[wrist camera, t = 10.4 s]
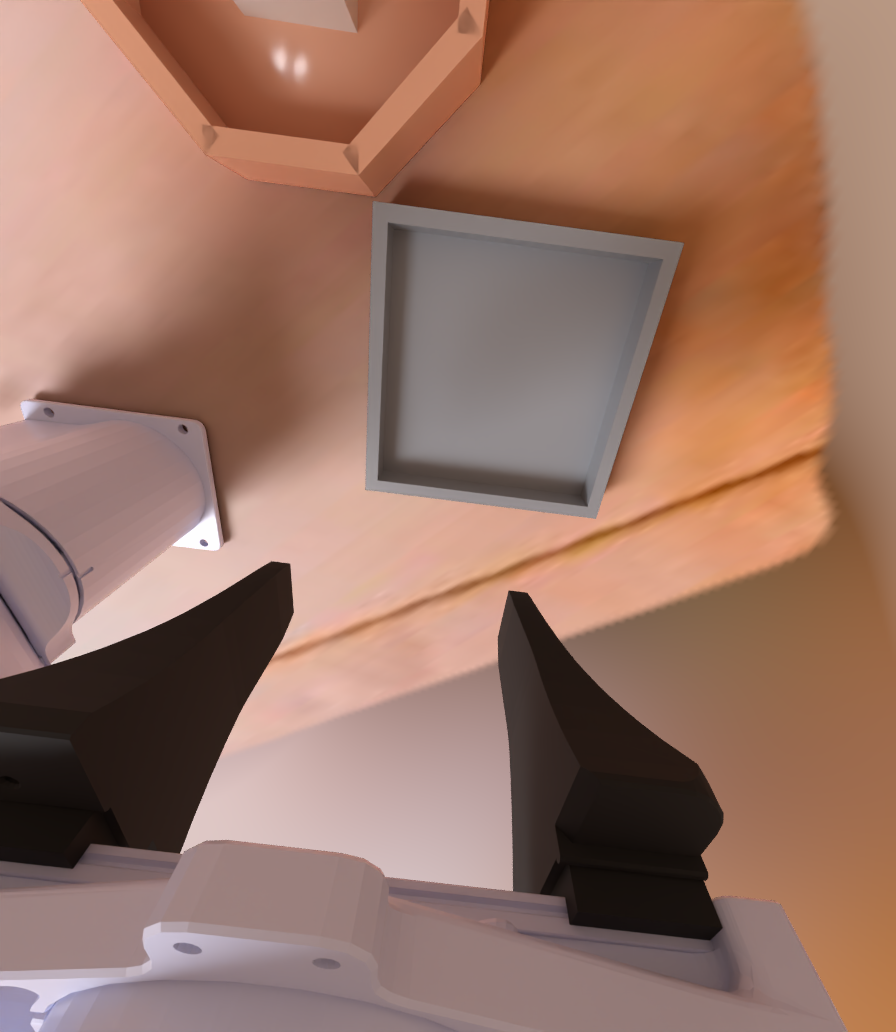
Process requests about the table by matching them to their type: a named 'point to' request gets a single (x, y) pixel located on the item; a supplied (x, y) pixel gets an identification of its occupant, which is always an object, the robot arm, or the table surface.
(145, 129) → the table surface
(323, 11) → the beige cube
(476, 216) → the parts tray
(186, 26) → the bowl
